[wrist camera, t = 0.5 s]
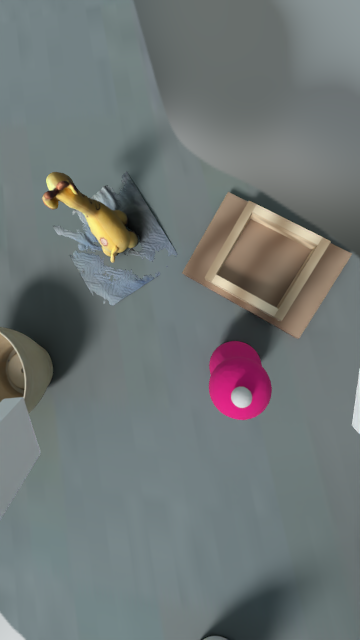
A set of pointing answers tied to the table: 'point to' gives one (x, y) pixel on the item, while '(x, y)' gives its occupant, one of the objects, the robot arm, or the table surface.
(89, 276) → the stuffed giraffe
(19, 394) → the planter bowl
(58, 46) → the table surface
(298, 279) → the holder board
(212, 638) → the milk bottle
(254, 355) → the pepper mill
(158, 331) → the table surface
